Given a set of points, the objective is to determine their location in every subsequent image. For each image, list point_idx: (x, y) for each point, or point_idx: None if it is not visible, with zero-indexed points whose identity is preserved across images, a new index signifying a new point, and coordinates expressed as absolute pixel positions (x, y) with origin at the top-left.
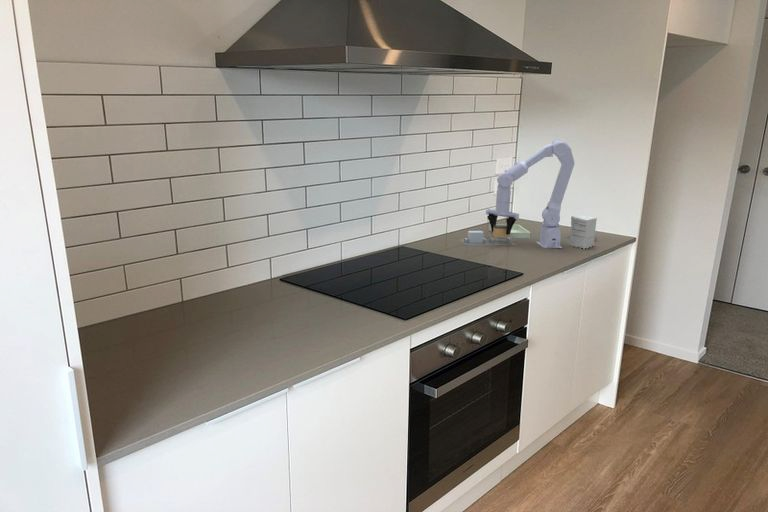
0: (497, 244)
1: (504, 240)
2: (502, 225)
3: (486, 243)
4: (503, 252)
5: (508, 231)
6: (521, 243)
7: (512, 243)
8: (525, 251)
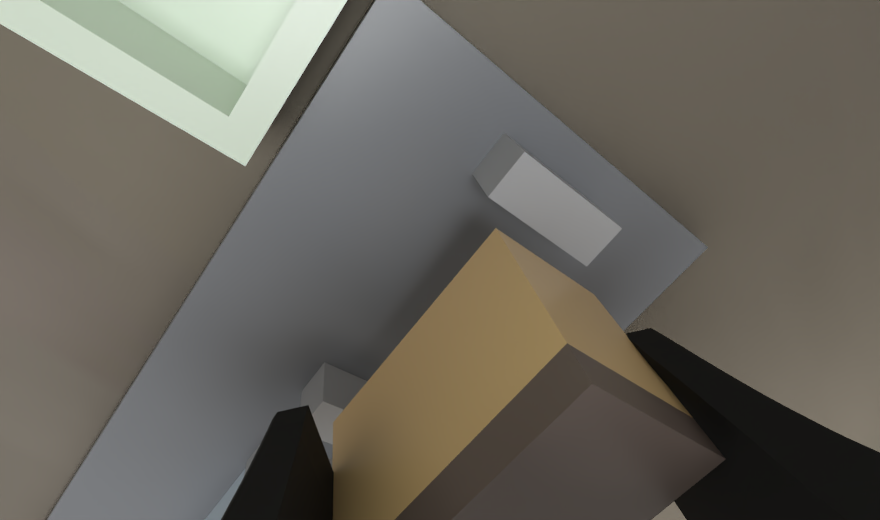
0: None
1: (436, 183)
2: (514, 508)
3: None
4: (672, 506)
5: None
6: (707, 35)
7: (629, 233)
8: (850, 337)
